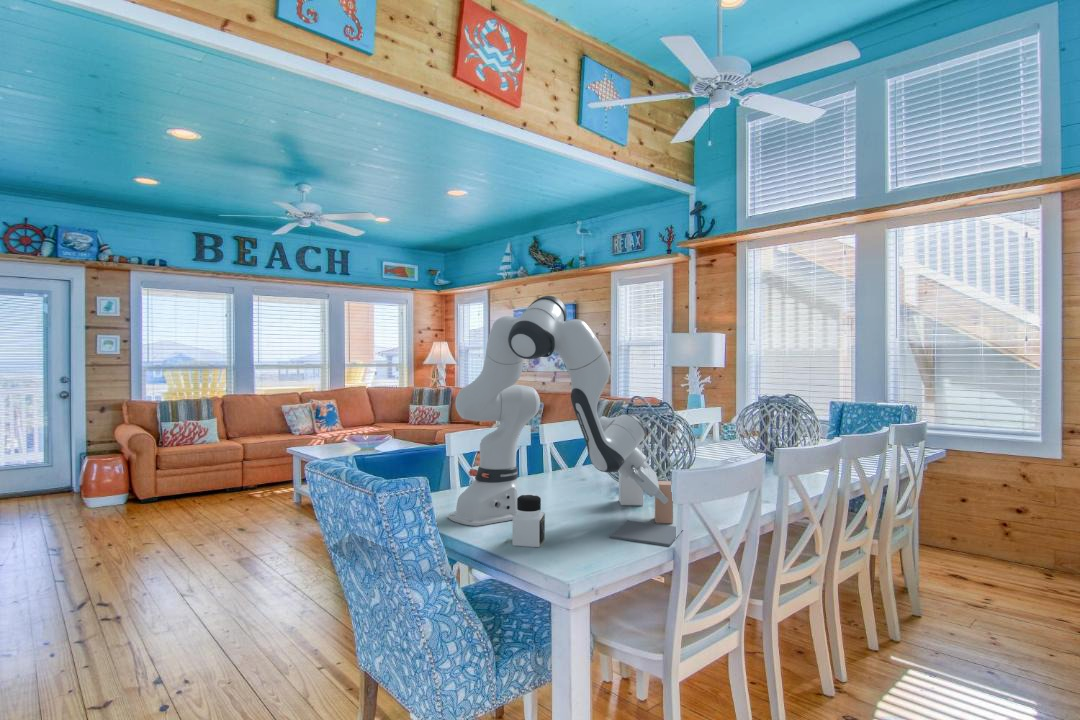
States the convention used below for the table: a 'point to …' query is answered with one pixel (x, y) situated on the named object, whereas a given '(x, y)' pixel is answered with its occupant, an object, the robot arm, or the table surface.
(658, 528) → the mat
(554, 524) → the table surface
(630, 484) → the milk carton
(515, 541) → the medicine bottle
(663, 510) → the tan upright wooden block
